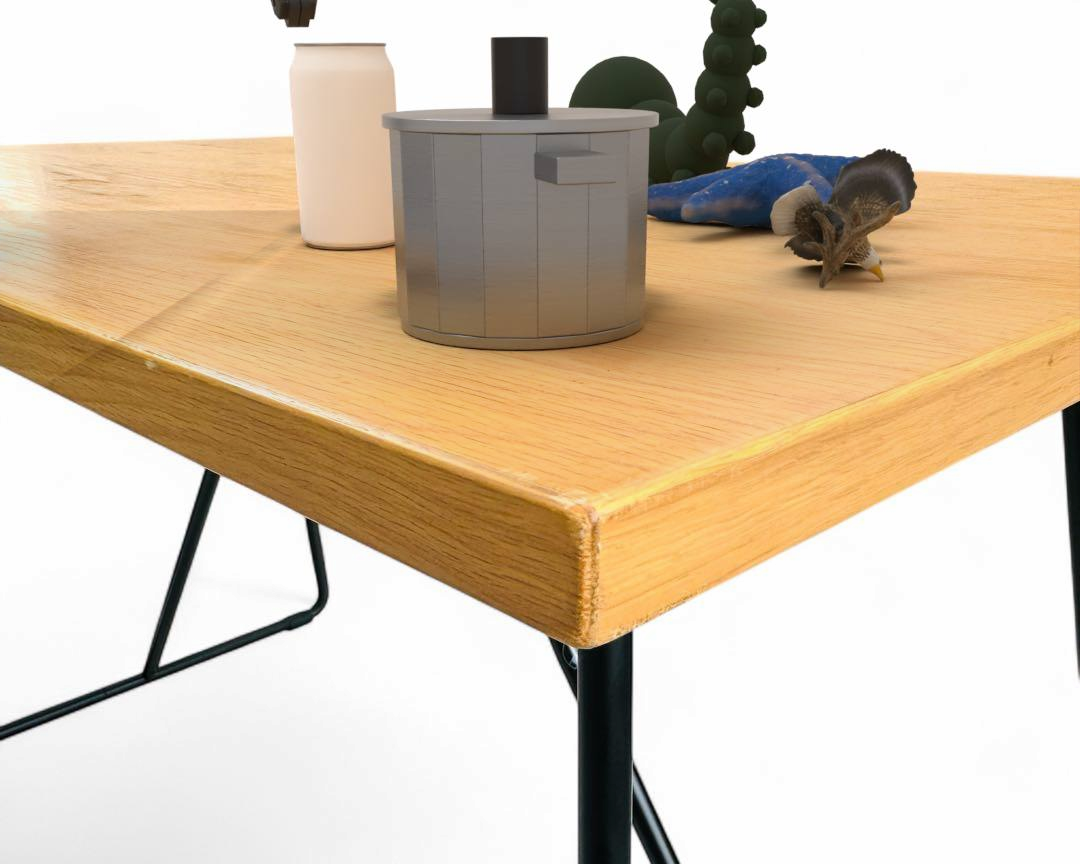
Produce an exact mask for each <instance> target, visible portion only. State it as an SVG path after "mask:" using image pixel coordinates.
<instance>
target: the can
mask: <svg viewBox="0 0 1080 864" xmlns="http://www.w3.org/2000/svg"><path fill="white" fill-rule="evenodd" d="M293 46H294V47H295V52H294V56H293V59H292V60H291V61H292V62H291V64H290V67H289V72H288V73H289V74H288V76H289V93H290V94H289V95H290V108H291V121H292V136H293V148H294V149H293V150H294V161H295V174H296V186H297V187H296V189H297V199H298V202H297V203H298V212H299V224H300V226H299V227H300V234H301V235H300V236H301V240H303V241H304V242H305V243H306V245H307V247H310V248H315V249H320V250H335V251H336V250H337V251H338V250H339V251H341V250H342V251H347V250H348V251H349V250H350V251H352V250H353V251H354V250H371V249H381V248H386V247H391V246H395V238H394V218H393V197H392V177H391V156H390V136H389V129H385V128H383V127H382V114H385V113H391V112H397V95H396V94H397V93H396V79H395V78H396V77H395V69H394V67H393V65H392V62H391V60H390V58H389V57H388V54H387V51H386V47H387V43H386V42H296V43H293Z"/></svg>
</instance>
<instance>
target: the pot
mask: <svg viewBox="0 0 1080 864" xmlns="http://www.w3.org/2000/svg"><path fill="white" fill-rule="evenodd" d="M389 136H390V156H391V177H392V197H393V218H394V238H395V244H394V256H395V277H396V296H397V297H396V298H397V315H398V316H399V318H400V326H401V327H400V328H401V329H402V330H403V331H404V332H405V333H406V334H408V335H409V336H412V337H414V338H417V339H420V340H423V341H427V342H429V343H435V344H438V345H439V344H440V345H445V346H452V347H460V348H469V349H480V350H499V351H530V350H531V351H534V350H552V349H553V350H554V349H555V350H556V349H557V350H558V349H568V348H578V347H585V346H593V345H599V344H603V343H604V344H605V343H608V342H613V341H617V340H620V339H624V338H626V337H629V336H631V335H633V334H636V333H638V332H639V331H640V330H641V329H642V328H643V326H644V324H645V313H646V312H645V310H646V309H645V308H646V307H645V304H646V273H647V271H646V270H647V237H648V236H647V235H648V234H647V233H648V215H647V202H648V166H649V128H646V129H637V130H625V131H609V132H587V133H550V134H463V133H429V132H410V131H398V130H390V129H389Z"/></svg>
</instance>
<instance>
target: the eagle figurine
mask: <svg viewBox="0 0 1080 864" xmlns="http://www.w3.org/2000/svg"><path fill="white" fill-rule="evenodd" d="M861 157H862V156H861ZM911 167H912V165H911V163H910V162H908V158H907V157H906V156H904V155H902V154H901V153H900V152H897V151H895V150H892V149H890V148H888V149H887V148H886V147H884V148H877V149H876V150H874V151H873V152H872V153H869V154H866V155H865V156H863V157H862V158H858V159H856V160H855V161H854V162H852V163H849V164H847V165H844V166H842V168H841V170H840V173H839V175H838V179H837V180H836V184H835V186H834V189H833V191H832V193H831V198H830V199H829V202H828V203H827V204H826V205H824V204H822V203H821V200H820V198H819V196H818V194H817V192H816V189H815V188H814V187H813V186H812V185H805V186H800V187H798V188H796V189H793V190H792V191H790V192H788V193H786V194H784V195H782V196H781V197H780V198H779V199H778V200H777V201H776V202H775V203H774V205H773V210H772V212H771V215H770V218H771V222H772V227H771V229H772V231H773V233H774V234H775V235H776V236H777V237H788V236H792V235H793V237H791V238H790V239H789V240H788V241H786V242H785V244H784V246H783V248H790V251H793V255H794V256H796V257H797V258H801V259H803V260H806V261H816V262H817V263H820V262H822V270H821V274H820V277H819V281H818V287H819V289H821V290H823V289H825V288H826V286H827V285H828V284H829V283H830V282H831V281H832V280H833V278H834V277H835V276H837V275H839V273H840V269H841V268H844V265H845V264H851V265H858V264H859V265H860V266H861V267H862V268H863V269H864V270H865V271H867V272H868V273H872V274H873V275H875V276H876V277H877V278H878V279H879V280H880V281H885V278H886V277H885V275H884V273H883V270H882V267H883V261H882V259H881V258H880V256H879V255H878V253H877V252H876V250H875V249H874V247H873V245H871V243H870V240H869V238H868V235H870V234H871V233H873V232H875V231H877V230H880V229H881V228H883V227H884V226H886V225H887V224H889V223H890V222H892V220H893V218H894V217H897V216H900V215H902V214H905V213H907V212H908V211H909V210H911V207H912V201H913V200H914V199H915V195H916V190H917V189H918V185H917V182H916V181H915V172H914V171H913V169H912V170H911Z"/></svg>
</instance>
